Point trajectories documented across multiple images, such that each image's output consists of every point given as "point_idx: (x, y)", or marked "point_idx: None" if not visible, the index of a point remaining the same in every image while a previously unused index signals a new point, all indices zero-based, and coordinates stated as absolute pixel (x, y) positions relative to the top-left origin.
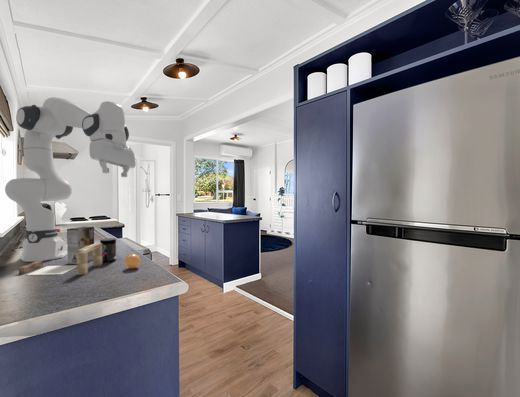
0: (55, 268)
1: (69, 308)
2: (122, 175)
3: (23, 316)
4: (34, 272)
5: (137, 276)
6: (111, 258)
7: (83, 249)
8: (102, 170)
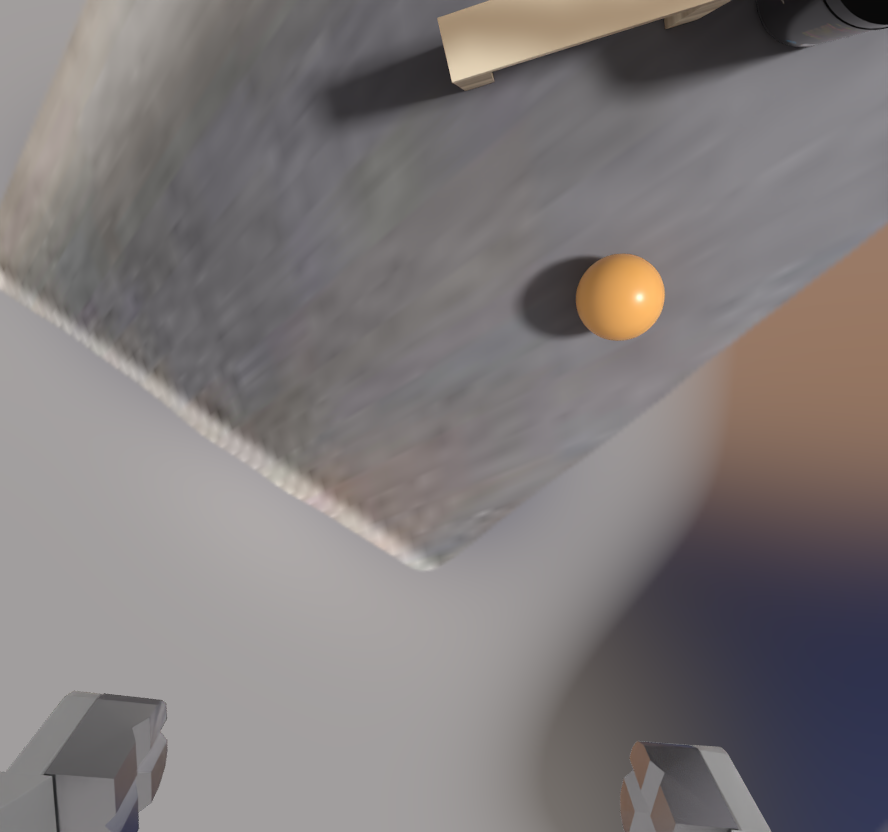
0: None
1: (124, 354)
2: (636, 786)
3: (29, 261)
4: None
5: (474, 387)
6: (781, 36)
7: (471, 46)
8: (42, 727)
